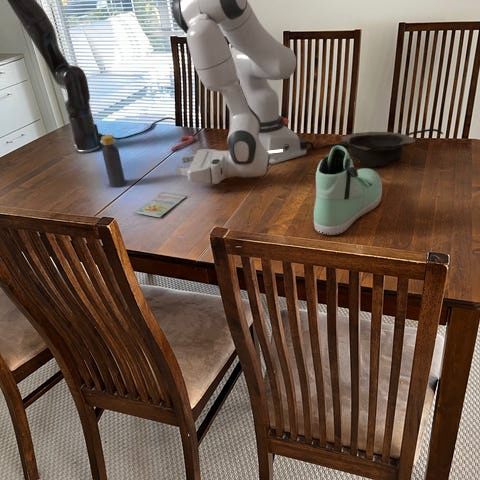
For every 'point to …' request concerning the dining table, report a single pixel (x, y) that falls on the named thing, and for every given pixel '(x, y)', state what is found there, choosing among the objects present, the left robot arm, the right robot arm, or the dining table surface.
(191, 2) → the right robot arm
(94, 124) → the left robot arm
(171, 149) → the candy cane
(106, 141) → the cap
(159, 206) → the baking ingredient package
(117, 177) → the bottle
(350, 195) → the sneaker
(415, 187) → the dining table surface
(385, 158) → the stone bowl
